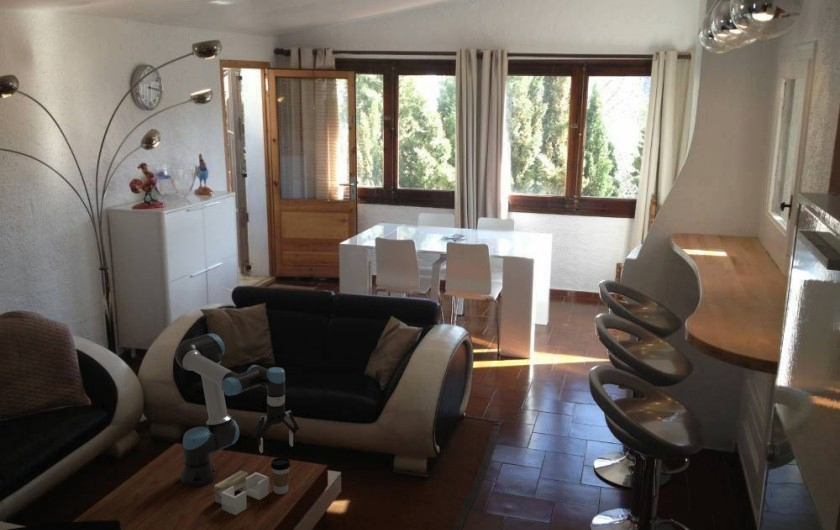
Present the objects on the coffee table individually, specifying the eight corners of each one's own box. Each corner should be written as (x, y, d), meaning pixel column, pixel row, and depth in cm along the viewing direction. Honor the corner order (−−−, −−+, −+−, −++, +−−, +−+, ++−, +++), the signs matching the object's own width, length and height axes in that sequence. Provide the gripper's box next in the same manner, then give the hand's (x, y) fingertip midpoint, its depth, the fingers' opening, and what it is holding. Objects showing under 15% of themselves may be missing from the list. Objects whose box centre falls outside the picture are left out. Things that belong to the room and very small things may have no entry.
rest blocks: (215, 501, 325) (215, 495, 324) (240, 486, 338) (240, 480, 337) (223, 504, 323) (223, 498, 322) (248, 489, 335) (248, 483, 334)
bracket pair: (221, 509, 319) (221, 492, 317) (256, 488, 337) (255, 472, 335) (235, 515, 315) (235, 498, 313) (269, 493, 333) (269, 477, 331)
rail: (214, 495, 324) (214, 485, 323) (241, 480, 337) (240, 470, 336) (222, 499, 322) (221, 488, 320) (248, 483, 335) (248, 473, 334)
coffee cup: (286, 496, 330) (286, 465, 327) (268, 494, 332) (268, 463, 329) (293, 487, 338) (293, 457, 335) (275, 484, 340) (275, 454, 337)
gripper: (250, 411, 311) (250, 458, 316) (306, 401, 323) (306, 446, 328) (244, 404, 317) (245, 450, 322) (300, 395, 329) (300, 439, 334)
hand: (276, 448), depth 325 cm, fingers open, 13 cm apart
